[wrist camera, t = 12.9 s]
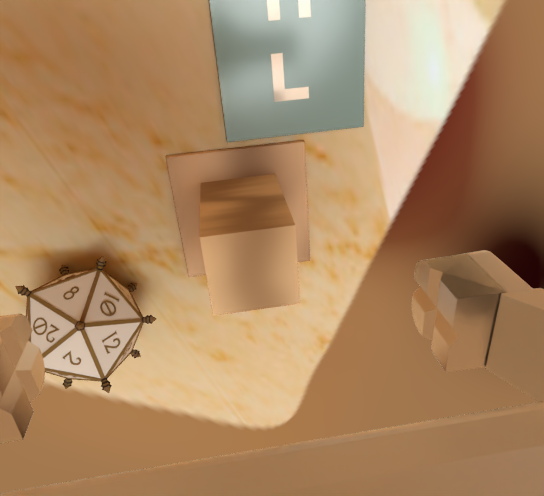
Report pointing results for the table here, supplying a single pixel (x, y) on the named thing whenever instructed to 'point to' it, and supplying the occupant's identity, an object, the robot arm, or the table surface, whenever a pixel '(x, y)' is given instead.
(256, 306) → the oak block
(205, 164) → the cork mat
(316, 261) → the table surface
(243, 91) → the tile
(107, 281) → the game die
